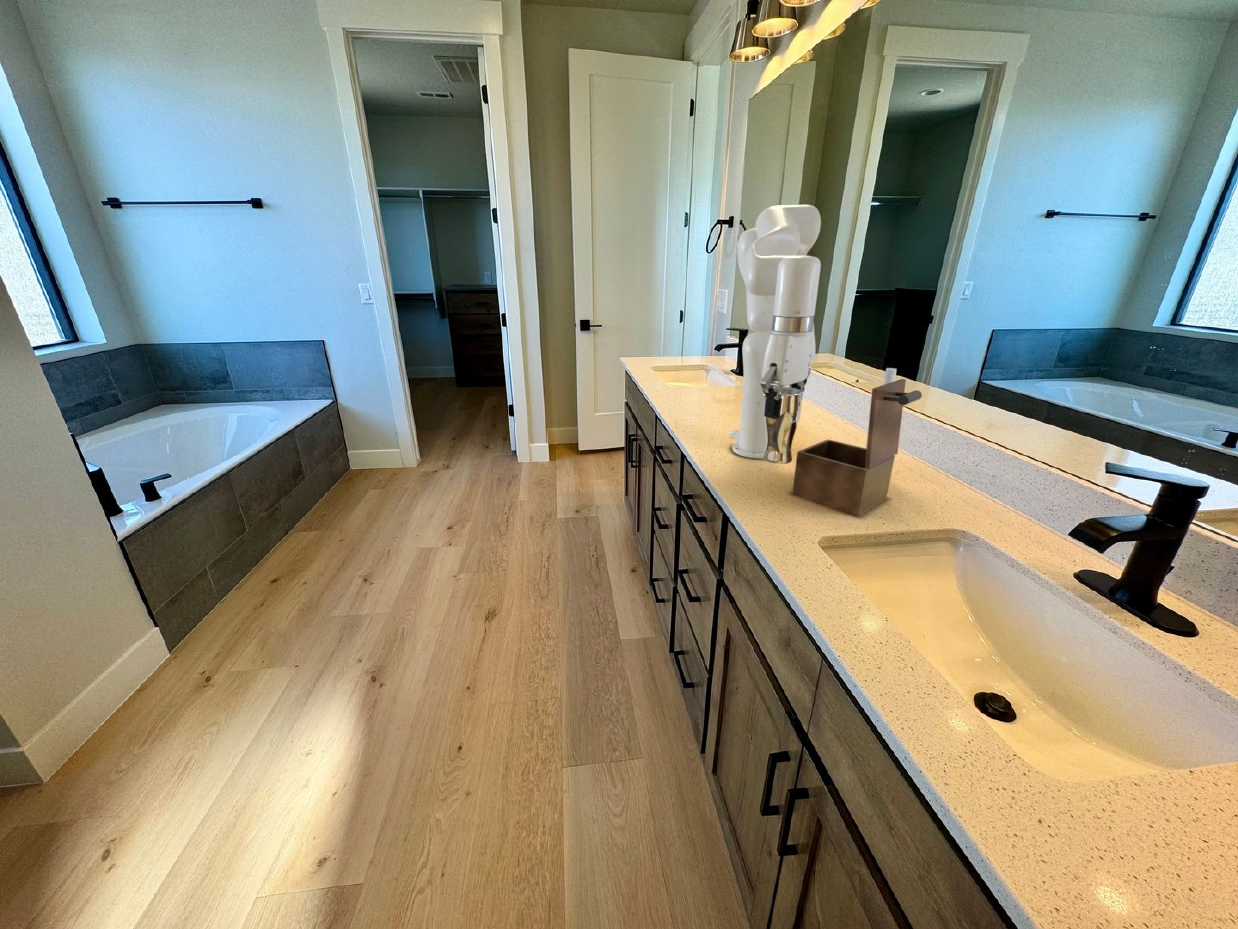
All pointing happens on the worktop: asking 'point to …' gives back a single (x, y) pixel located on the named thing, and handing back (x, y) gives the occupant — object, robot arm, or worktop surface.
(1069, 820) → the worktop surface
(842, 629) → the worktop surface
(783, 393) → the beer glass
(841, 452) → the chest
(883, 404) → the lid
